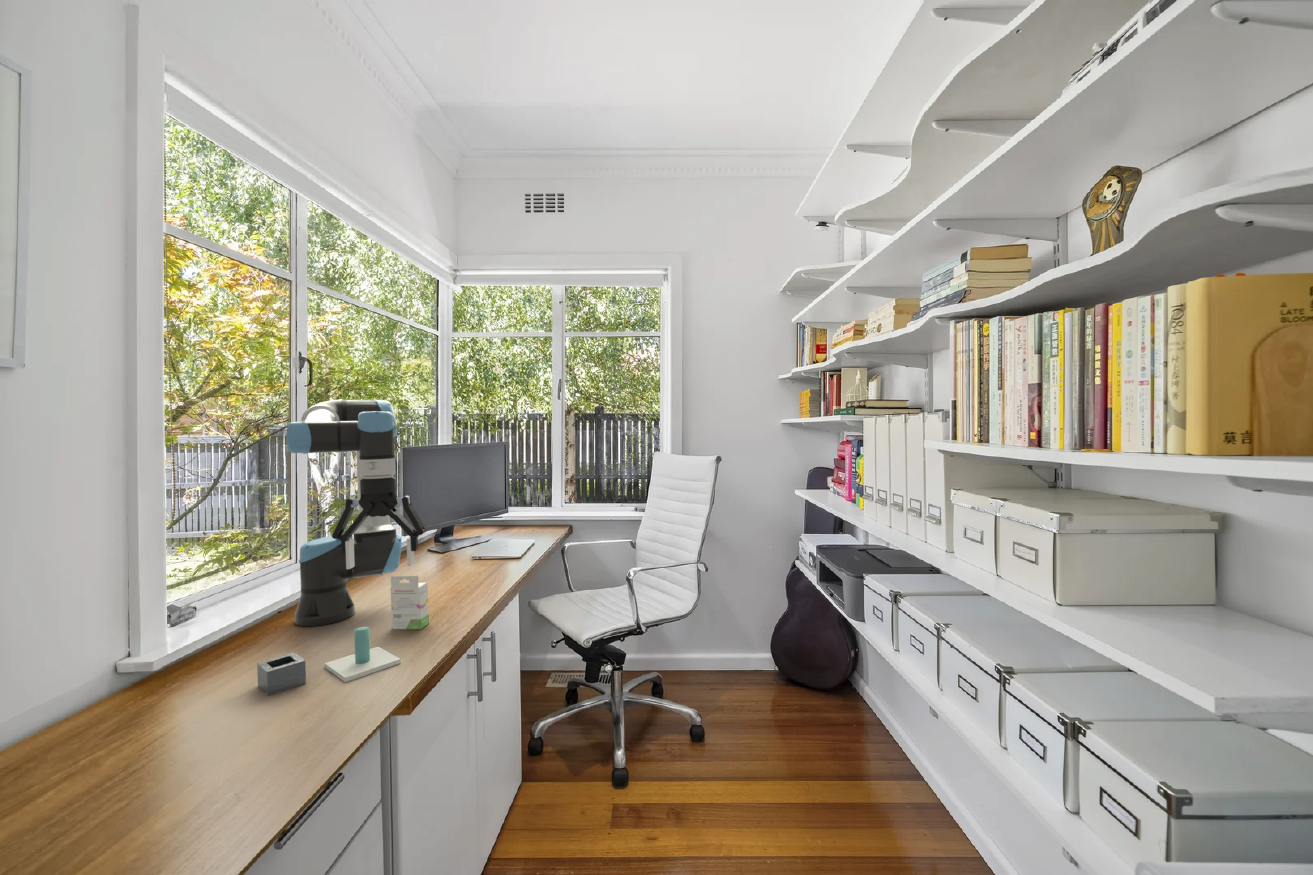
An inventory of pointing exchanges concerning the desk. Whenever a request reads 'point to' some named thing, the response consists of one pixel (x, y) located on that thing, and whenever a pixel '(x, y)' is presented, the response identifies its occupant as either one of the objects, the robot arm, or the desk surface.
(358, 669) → the post stand
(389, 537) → the robot arm
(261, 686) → the collar
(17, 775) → the desk surface
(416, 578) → the ink box
